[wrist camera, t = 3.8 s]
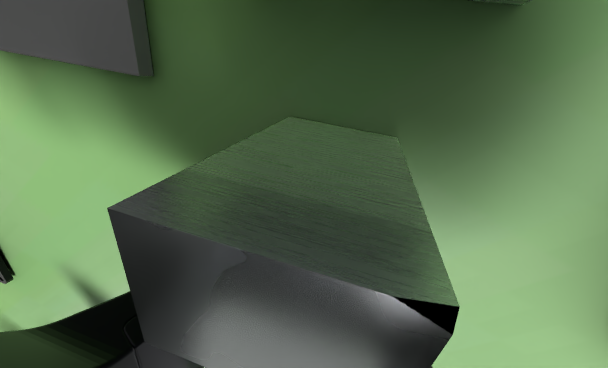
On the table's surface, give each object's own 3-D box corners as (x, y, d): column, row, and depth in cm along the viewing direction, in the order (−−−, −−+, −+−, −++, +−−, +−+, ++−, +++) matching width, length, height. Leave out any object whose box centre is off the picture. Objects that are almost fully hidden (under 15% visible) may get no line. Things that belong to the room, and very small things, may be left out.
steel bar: (268, 310, 12) (187, 494, 7) (289, 116, 8) (106, 208, 2) (334, 332, 12) (301, 553, 6) (397, 137, 7) (464, 319, 2)
